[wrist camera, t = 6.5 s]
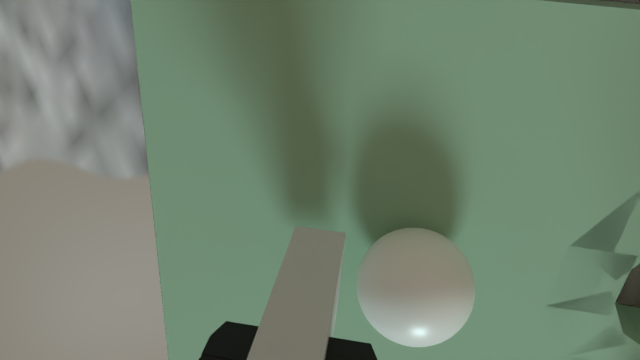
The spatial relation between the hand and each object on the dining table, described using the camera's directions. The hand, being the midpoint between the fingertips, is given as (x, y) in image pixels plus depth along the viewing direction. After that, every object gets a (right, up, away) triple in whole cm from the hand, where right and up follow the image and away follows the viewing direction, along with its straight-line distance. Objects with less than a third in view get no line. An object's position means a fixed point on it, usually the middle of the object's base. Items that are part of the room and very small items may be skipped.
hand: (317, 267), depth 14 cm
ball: (+3, 0, 0) cm, 3 cm away
